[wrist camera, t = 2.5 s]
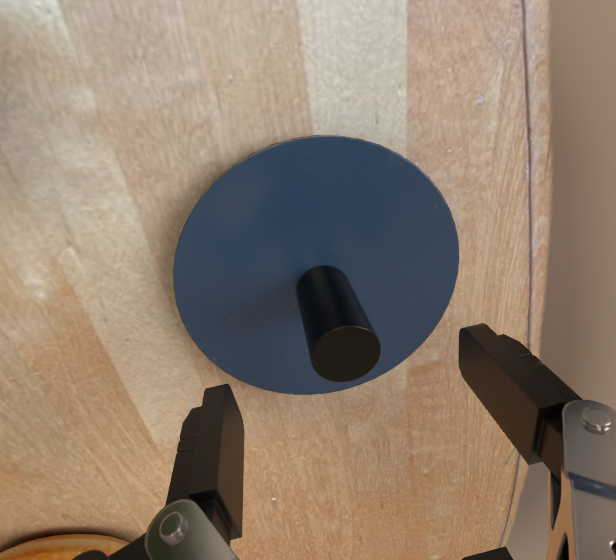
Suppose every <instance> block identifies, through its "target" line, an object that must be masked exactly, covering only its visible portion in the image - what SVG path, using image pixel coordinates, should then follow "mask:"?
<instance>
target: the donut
mask: <svg viewBox="0 0 616 560" xmlns="http://www.w3.org/2000/svg"><path fill="white" fill-rule="evenodd" d="M128 544H130V543H129V542H127V541H125V540H121V539H118V538H114V537H111V536H104V535H96V534H68V535H55V536H50V537H44V538H39V539H35V540H32V541H28V542H25V543H22V544H19V545H17V546H15V547H12V548H10V549H8V550H5V551H3V552H1V553H0V560H72V559H73V558H74V557H76V556H77V555H79V554H81V553H83V552H86V551H89V550H100V551H102V552H104V553H105V554H106V555H107V556H109V555H111V554H113V553H114V552H116V551H118V550H119V549H121V548H123V547H124V546H126V545H128Z"/></svg>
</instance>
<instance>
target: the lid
mask: <svg viewBox="0 0 616 560" xmlns="http://www.w3.org/2000/svg"><path fill="white" fill-rule="evenodd" d="M458 264H459V244H458V237H457V232H456V227H455V223H454V220H453V217H452V214H451V212H450V209H449V207H448V205H447V203H446V201H445V199H444V198H443V196H442V194H441V192H440V191H439V190H438V188H437V187H436V186H435V185H434V183H433V182H432V181H431V179H430V178H429V177H428V176H427V175H426V174H425V173H424V172H422V171H421V170H420V169H419V168H418V167H417V166H416V165H415V164H413V163H412V162H410V161H409V160H407V159H406V158H404V157H403V156H401V155H400V154H398V153H396V152H394V151H392V150H390V149H387V148H385V147H383V146H381V145H379V144H376V143H372V142H369V141H365V140H362V139H359V138H352V137H346V136H339V135H314V136H307V137H300V138H293V139H290V140H286V141H283V142H279V143H276V144H272V145H270V146H268V147H265V148H263V149H261V150H259V151H257V152H254V153H252V154H250V155H249V156H247V157H245V158H244V159H242V160H241V161H239V162H238V163H236V164H234V165H233V166H231V167H230V168H229V169H228V170H227V171H226V172H224V173H223V174H222V175H221V176H220V177H218V178H217V179H216V180H215V181H214V182H213V183H212V185H211V186H210V187H209V188H208V189H207V190H206V191H205V193H204V194H203V195H202V196H201V198H200V199H199V201H198V202H197V204H196V205H195V207H194V208H193V210H192V211H191V213H190V215H189V217H188V219H187V221H186V223H185V226H184V228H183V230H182V232H181V235H180V238H179V242H178V245H177V249H176V252H175V260H174V268H173V283H174V293H175V298H176V304H177V307H178V310H179V313H180V316H181V319H182V321H183V323H184V325H185V327H186V329H187V331H188V333H189V335H190V336H191V338H192V339H193V341H194V342H195V343H196V345H197V346H198V348H199V349H200V350H201V351H202V352H203V353H204V354H205V355H206V356H207V357H208V358H209V359H210V360H211V361H212V362H213V363H214V364H216V365H217V366H218V367H219V368H221V369H222V370H223V371H225V372H227V373H228V374H230V375H231V376H233V377H235V378H236V379H239V380H241V381H243V382H245V383H247V384H249V385H252V386H255V387H258V388H261V389H264V390H269V391H273V392H278V393H285V394H295V395H313V394H323V393H330V392H335V391H341V390H345V389H348V388H351V387H355V386H358V385H360V384H363V383H365V382H368V381H370V380H373V379H375V378H377V377H378V376H380V375H382V374H384V373H386V372H388V371H389V370H391V369H392V368H394V367H395V366H397V365H399V364H400V363H401V362H402V361H404V360H405V359H406V358H407V357H409V356H410V355H411V354H412V353H413V352H414V351H415V350H416V349H417V348H418V347H419V346H421V345H422V344H423V342H424V341H425V340H426V339H427V338H428V336H429V335H430V334H431V333H432V332H433V330H434V329H435V327H436V326H437V324H438V323H439V321H440V320H441V318H442V316H443V314H444V312H445V310H446V308H447V306H448V304H449V302H450V299H451V296H452V293H453V291H454V287H455V283H456V279H457V274H458Z"/></svg>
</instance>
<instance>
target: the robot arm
mask: <svg viewBox="0 0 616 560" xmlns="http://www.w3.org/2000/svg"><path fill="white" fill-rule="evenodd" d="M459 368H460V371H461V374H462V376H463V378H464V380H465V381H466V382H467V384H468V385H469V386H470V388H471V389H472V390H473V392H474V393H475V394H476V396H477V397H478V398H479V400H480V401H481V402H482V404H483V405H484V406H485V408H486V409H487V410H488V412H489V413H490V414H491V416H492V417H493V418H494V420H495V421H496V422H497V424H498V425H499V426H500V428H501V429H502V430H503V432H504V433H505V434H506V436H507V437H508V438H509V440H510V441H511V442H512V444H513V445H514V446H515V448H516V449H517V450H518V452H519V453H520V454H521V456H522V457H523V458H524V460H525V461H526V462H527V464H528V465H530V464H534V463H538V462H542V461H543V462H544V464H545V465H546V466H547V467H548V469H549V472H548V550H547V558H546V560H616V411H615V410H614V409H612V408H610V407H608V406H606V405H604V404H601V403H598V402H594V401H590V400H583V399H582V398H580V397H579V396H578V395H577V394H576V393H575V392H574V391H573V390H572V389H571V388H570V387H568V386H567V385H566V384H565V383H564V382H563V381H562V380H561V379H560V378H559V377H558V376H556V375H555V374H554V373H553V372H552V371H551V370H550V369H549V368H547V366H545V365H544V364H542V362H541V361H540V360H539V359H538V358H537V357H536V356H535V355H532V353H531V352H530V351H529V350H528V349H527V348H526V347H525V346H524V345H523V344H521V343H520V342H519V341H517V340H515V339H513V338H511V337H509V336H506V335H504V334H503V335H497V334H496V333H495V332H494V331H493V330H491V329H490V328H489V327H488V326H487V325H486V324H484V323H481V324H477V325H473V326H469V327H465V328H461V329H460V332H459ZM177 452H178V453H177V454H176V458H175V463H174V468H173V472H172V477H171V482H170V487H169V491H168V496H167V501H166V504H165V507H164V508H163V509H161V510H160V511H159V512H158V513H157V515H156V516H155V517H154V518H153V520H152V521H151V523H150V525H149V527H148V529H147V532H146V533H145V534H143V535H142V536H141V537H139V538H138V539H136V540H135V541H133V542H131V543H130V544H128V545H126V546H124V547H123V548H121V549H119V550H118V551H116V552H114V553H113V554H111V555H109V556H107V555H106V554H105V553H104V552H102V551H100V550H89V551H86V552H83V553H81V554H79V555H77V556H76V557H74V558H73V559H72V560H239V559H238V557H237V556H236V555H235V553H234V552H233V551H232V549H231V548H230V540H233V539H237V538H241V537H242V514H243V469H244V425H243V419H242V416H241V413H240V410H239V408H238V405H237V403H236V400H235V397H234V395H233V392H232V390H231V387H230V385H229V384H224V385H220V386H216V387H211V388H207V389H205V391H204V397H203V403H202V406H201V407H197V408H193V409H191V411H190V413H189V414H188V416H187V417H186V419H185V421H184V422H183V425H182V430H181V435H180V441H179V444H178V449H177ZM462 560H513V559H512V557H511V555H510V554H509V552H508V550H507V548H506V547H502V548H498V549H494V550H491V551H487V552H483V553H479V554H476V555H472V556H468V557H465V558H463V559H462Z"/></svg>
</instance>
